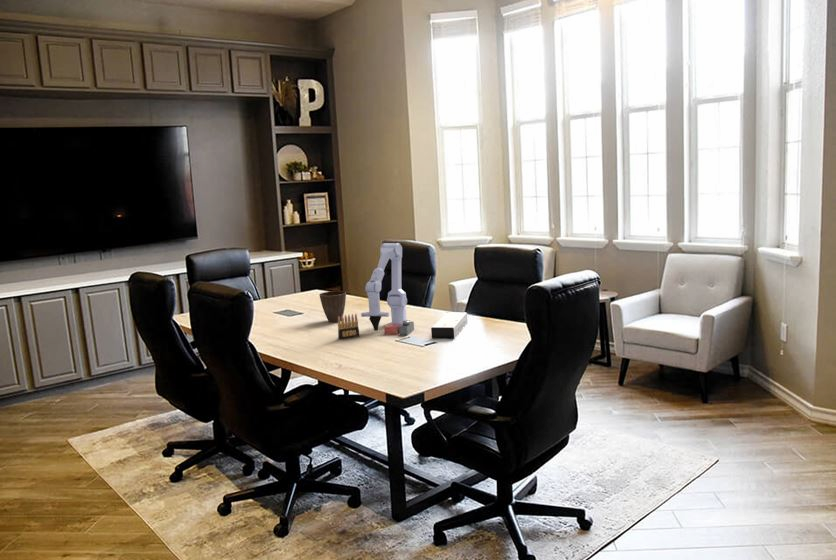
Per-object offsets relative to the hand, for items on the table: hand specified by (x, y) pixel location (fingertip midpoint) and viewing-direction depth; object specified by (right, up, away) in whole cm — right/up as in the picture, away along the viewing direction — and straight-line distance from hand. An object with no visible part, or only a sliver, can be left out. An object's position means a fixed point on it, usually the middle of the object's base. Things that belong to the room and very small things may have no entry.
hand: (376, 330), depth 353 cm
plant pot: (-25, +3, +32) cm, 41 cm away
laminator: (+38, 0, -5) cm, 38 cm away
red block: (+9, -1, -3) cm, 9 cm away
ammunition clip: (-13, -3, -8) cm, 16 cm away
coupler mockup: (+13, -1, -4) cm, 13 cm away
